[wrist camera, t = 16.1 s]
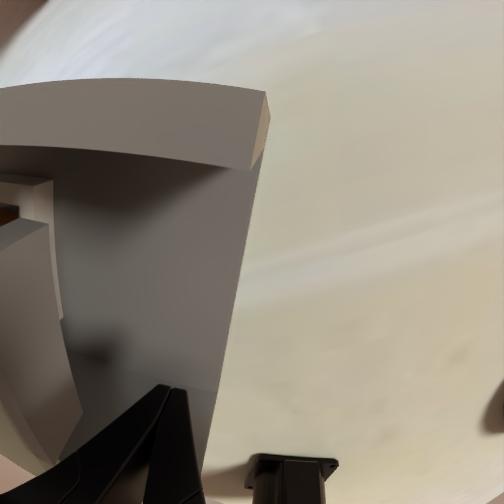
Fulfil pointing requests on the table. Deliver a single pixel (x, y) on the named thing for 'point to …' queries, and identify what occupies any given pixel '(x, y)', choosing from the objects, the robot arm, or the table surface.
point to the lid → (32, 353)
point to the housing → (137, 228)
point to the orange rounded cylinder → (7, 216)
